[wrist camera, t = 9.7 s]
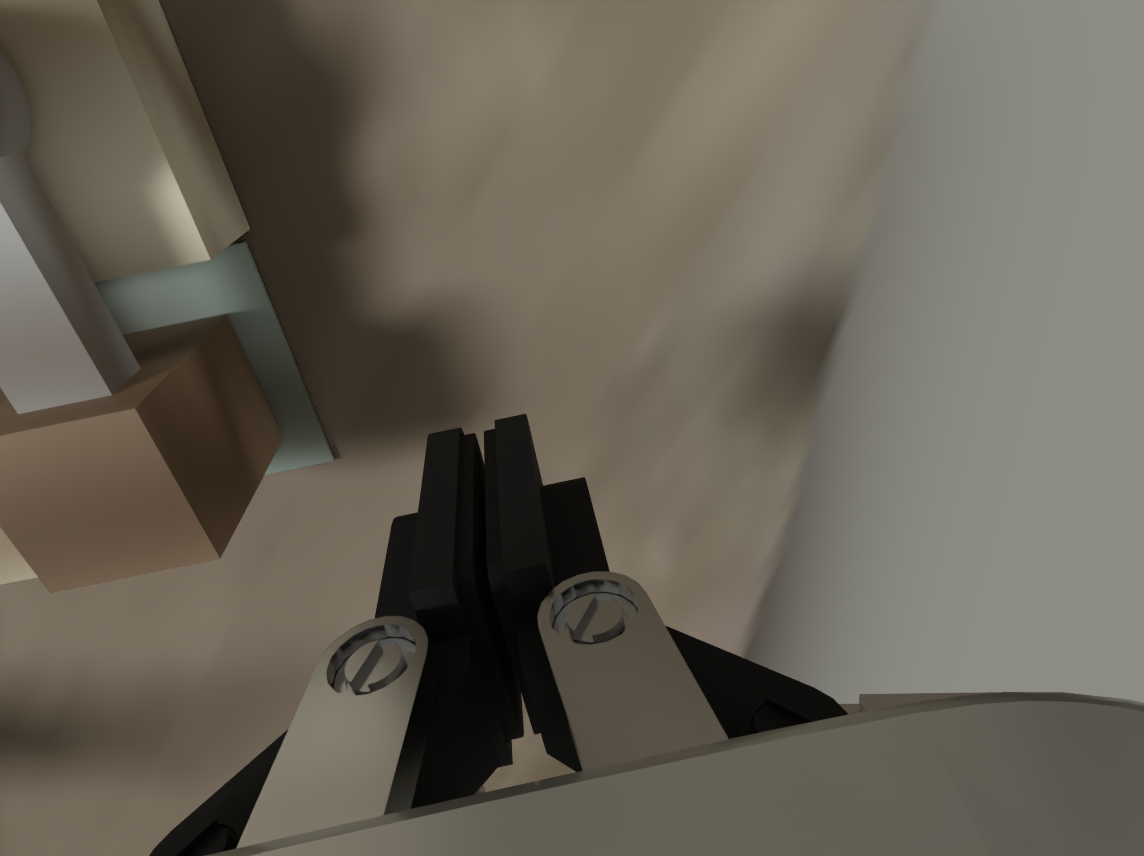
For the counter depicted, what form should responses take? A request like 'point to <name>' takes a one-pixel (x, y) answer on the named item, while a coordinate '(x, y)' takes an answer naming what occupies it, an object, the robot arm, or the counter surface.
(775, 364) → the counter surface
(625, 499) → the counter surface
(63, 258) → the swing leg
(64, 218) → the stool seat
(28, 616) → the counter surface
